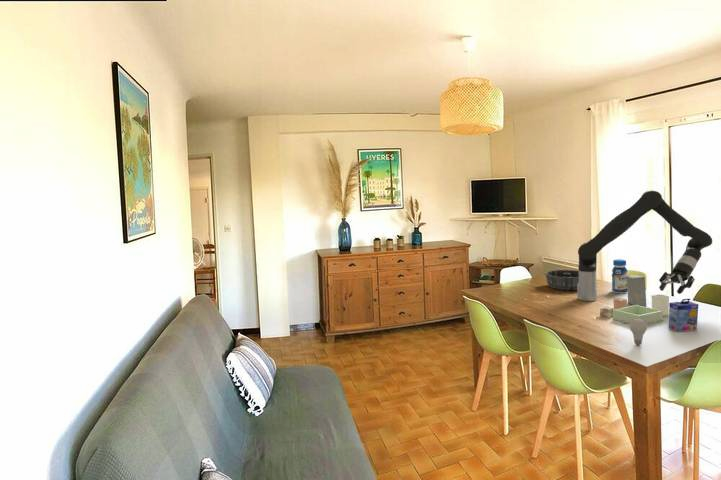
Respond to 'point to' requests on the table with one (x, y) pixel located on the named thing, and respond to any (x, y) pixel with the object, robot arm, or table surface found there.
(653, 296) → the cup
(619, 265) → the beverage bottle
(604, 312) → the beech block
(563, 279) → the bundt pan
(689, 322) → the ink cartridge box
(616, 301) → the reddish brown block
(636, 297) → the skincare box
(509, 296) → the table surface
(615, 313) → the tub
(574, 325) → the table surface
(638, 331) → the lightbulb
